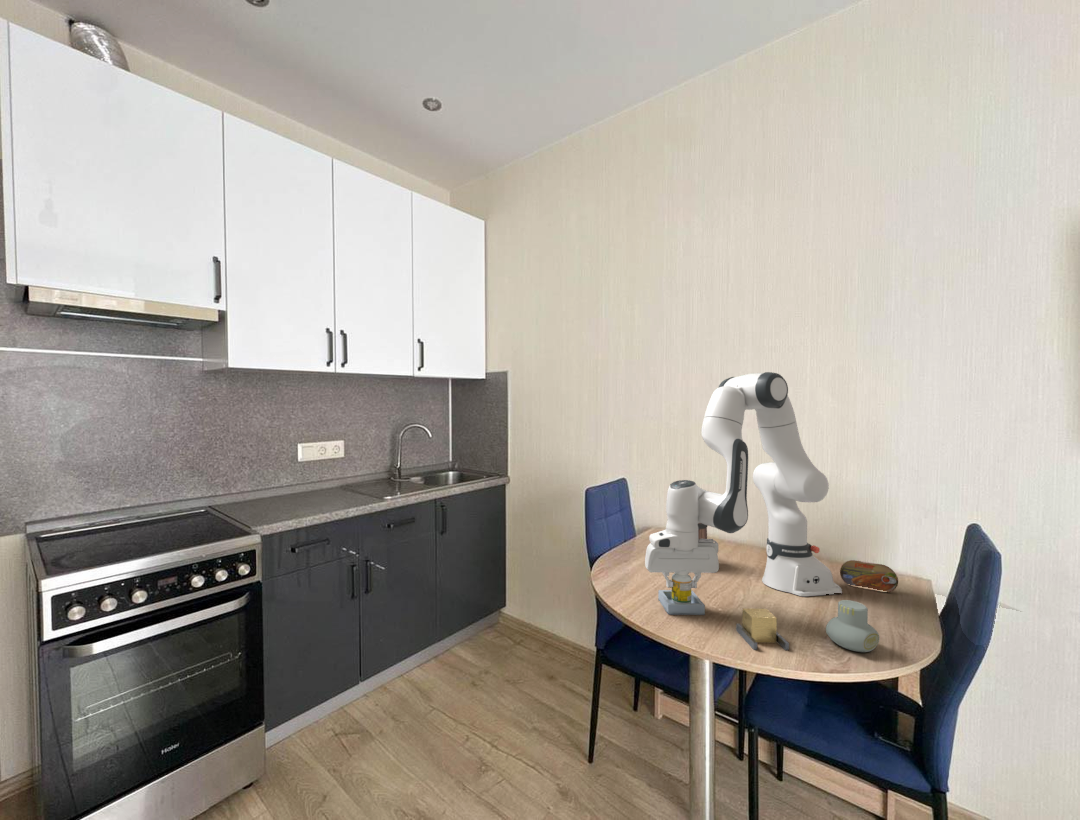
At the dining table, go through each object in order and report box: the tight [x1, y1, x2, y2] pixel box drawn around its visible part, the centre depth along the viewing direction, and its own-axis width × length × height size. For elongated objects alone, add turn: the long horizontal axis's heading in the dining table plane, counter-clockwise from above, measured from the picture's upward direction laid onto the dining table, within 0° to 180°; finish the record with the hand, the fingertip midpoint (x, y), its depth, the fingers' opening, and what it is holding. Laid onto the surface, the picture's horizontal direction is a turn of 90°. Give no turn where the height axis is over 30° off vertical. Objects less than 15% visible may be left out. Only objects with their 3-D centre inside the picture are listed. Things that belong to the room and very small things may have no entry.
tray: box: [657, 589, 706, 616], centre depth 130 cm, size 10×10×3 cm
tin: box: [839, 559, 899, 593], centre depth 146 cm, size 15×3×8 cm, turn 56°
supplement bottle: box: [671, 570, 693, 603], centre depth 130 cm, size 5×5×10 cm
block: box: [741, 607, 778, 644], centre depth 113 cm, size 6×5×6 cm
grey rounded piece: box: [825, 599, 880, 653], centre depth 110 cm, size 11×8×10 cm
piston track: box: [735, 623, 790, 652], centre depth 116 cm, size 10×18×2 cm, turn 0°
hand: (681, 587), depth 130 cm, fingers closed on supplement bottle, 5 cm apart
